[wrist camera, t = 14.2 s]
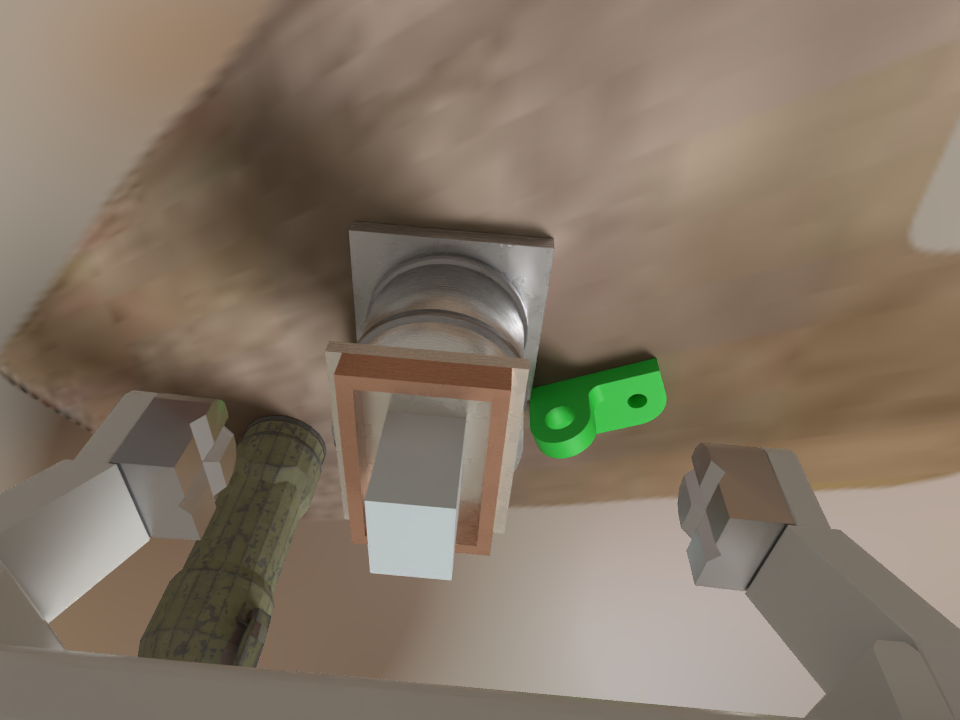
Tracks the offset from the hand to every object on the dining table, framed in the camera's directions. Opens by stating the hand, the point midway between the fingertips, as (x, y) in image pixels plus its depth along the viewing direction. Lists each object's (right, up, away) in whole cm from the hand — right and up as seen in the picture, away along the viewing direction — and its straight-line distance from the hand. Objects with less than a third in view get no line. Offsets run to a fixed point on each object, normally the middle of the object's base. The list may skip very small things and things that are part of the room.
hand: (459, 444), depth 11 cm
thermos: (-20, -7, +55) cm, 60 cm away
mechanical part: (+12, -2, +49) cm, 50 cm away
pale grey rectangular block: (-3, -5, +30) cm, 31 cm away
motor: (-2, +6, +43) cm, 44 cm away
